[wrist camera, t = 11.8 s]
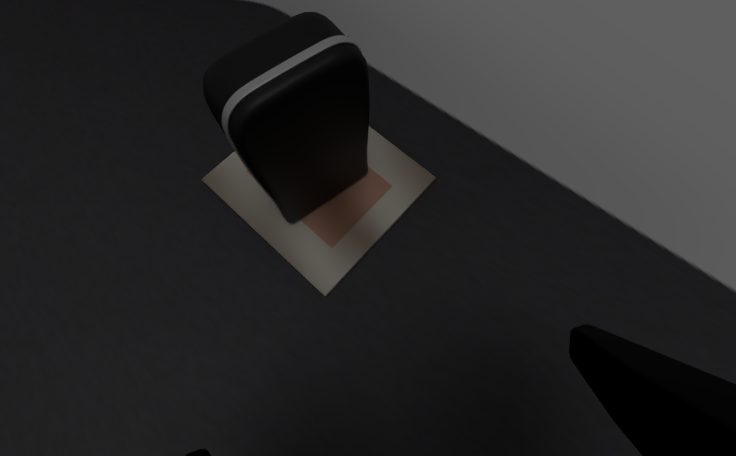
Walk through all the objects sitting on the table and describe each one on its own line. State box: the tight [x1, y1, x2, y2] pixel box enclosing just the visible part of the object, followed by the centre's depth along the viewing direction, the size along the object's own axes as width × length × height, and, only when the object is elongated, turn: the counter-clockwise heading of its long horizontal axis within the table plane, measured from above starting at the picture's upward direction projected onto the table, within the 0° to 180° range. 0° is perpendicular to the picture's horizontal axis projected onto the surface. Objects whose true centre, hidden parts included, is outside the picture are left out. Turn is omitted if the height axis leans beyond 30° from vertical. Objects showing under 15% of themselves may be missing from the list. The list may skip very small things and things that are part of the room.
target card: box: [202, 127, 436, 297], centre depth 25 cm, size 11×12×1 cm
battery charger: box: [203, 12, 369, 223], centre depth 19 cm, size 7×4×11 cm, turn 127°
